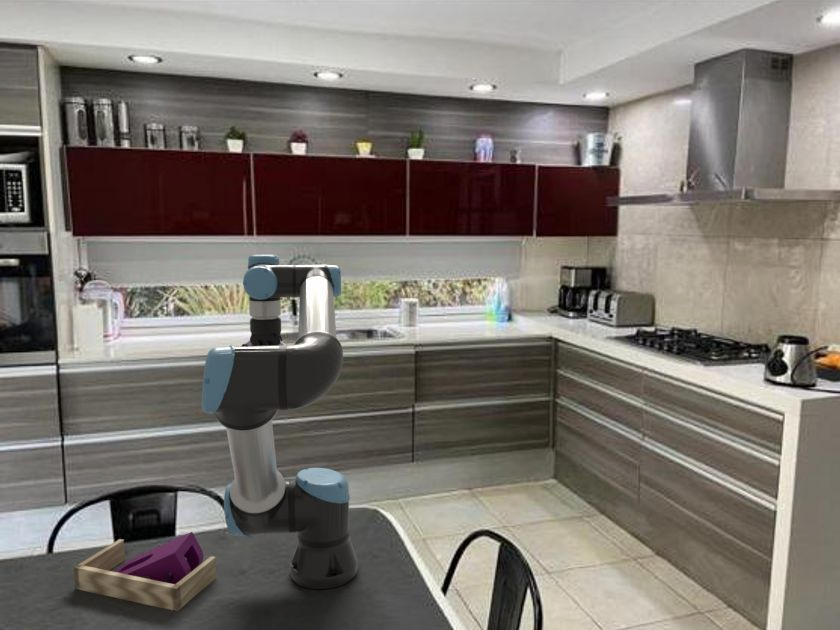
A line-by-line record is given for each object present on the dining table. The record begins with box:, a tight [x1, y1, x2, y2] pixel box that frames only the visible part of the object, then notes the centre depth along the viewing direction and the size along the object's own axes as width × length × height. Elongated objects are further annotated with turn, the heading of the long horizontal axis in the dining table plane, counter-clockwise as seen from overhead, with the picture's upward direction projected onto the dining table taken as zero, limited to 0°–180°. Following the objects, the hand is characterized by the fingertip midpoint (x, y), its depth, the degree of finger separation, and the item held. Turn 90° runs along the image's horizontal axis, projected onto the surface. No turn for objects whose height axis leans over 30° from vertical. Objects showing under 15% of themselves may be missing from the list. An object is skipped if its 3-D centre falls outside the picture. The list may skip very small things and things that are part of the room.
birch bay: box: [73, 538, 217, 612], centre depth 140 cm, size 26×13×5 cm, turn 72°
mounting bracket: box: [114, 531, 204, 584], centre depth 141 cm, size 10×8×18 cm
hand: (268, 409), depth 161 cm, fingers closed
